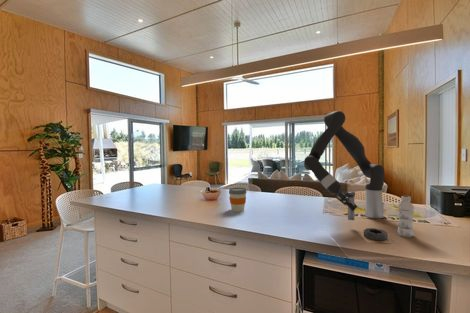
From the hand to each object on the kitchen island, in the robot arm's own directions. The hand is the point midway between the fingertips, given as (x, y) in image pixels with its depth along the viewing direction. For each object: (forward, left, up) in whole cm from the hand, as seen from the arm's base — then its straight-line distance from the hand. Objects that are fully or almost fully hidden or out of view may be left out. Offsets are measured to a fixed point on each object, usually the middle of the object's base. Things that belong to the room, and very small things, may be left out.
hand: (355, 208), depth 129 cm
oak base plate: (-4, +13, -12) cm, 18 cm away
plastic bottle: (-20, +9, -12) cm, 25 cm away
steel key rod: (+2, -1, -6) cm, 6 cm away
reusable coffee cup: (+65, -41, -12) cm, 78 cm away
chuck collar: (-4, +13, -11) cm, 17 cm away
